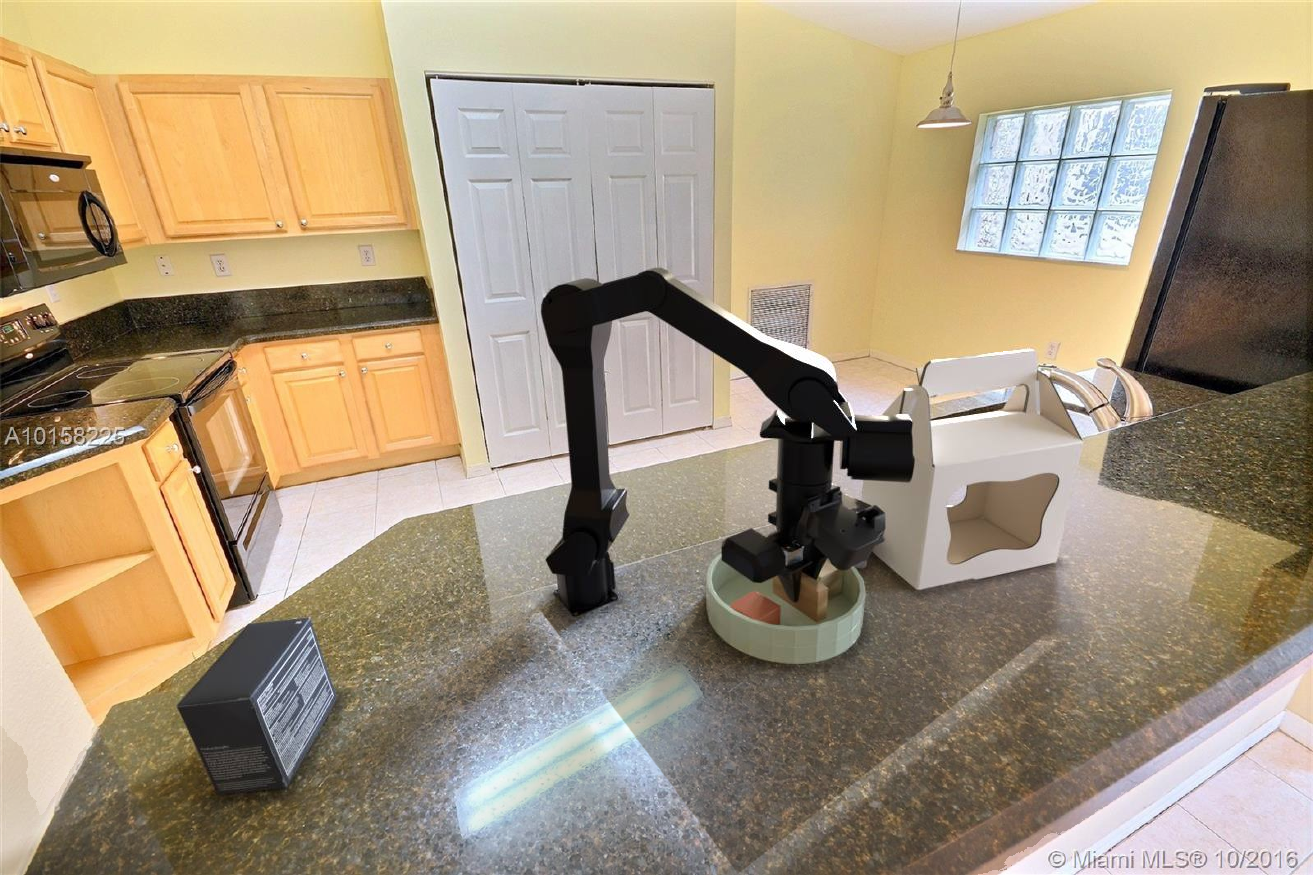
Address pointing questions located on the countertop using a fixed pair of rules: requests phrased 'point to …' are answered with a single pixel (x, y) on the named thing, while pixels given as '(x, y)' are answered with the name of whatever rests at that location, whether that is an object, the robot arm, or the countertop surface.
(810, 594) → the oak wood brick
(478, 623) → the countertop surface
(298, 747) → the small box
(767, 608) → the terracotta block
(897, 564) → the gable box
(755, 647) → the bowl
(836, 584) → the cream block
